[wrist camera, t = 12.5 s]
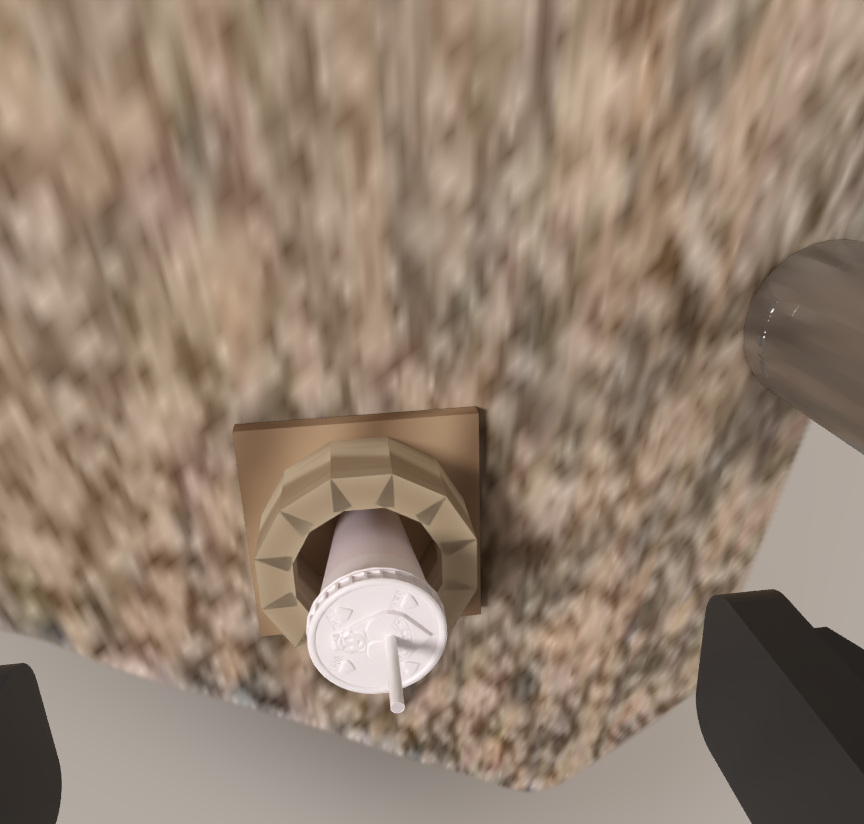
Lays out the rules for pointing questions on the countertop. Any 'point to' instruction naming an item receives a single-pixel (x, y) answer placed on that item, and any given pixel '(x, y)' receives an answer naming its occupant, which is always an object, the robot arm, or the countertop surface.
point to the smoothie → (375, 609)
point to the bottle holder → (359, 503)
